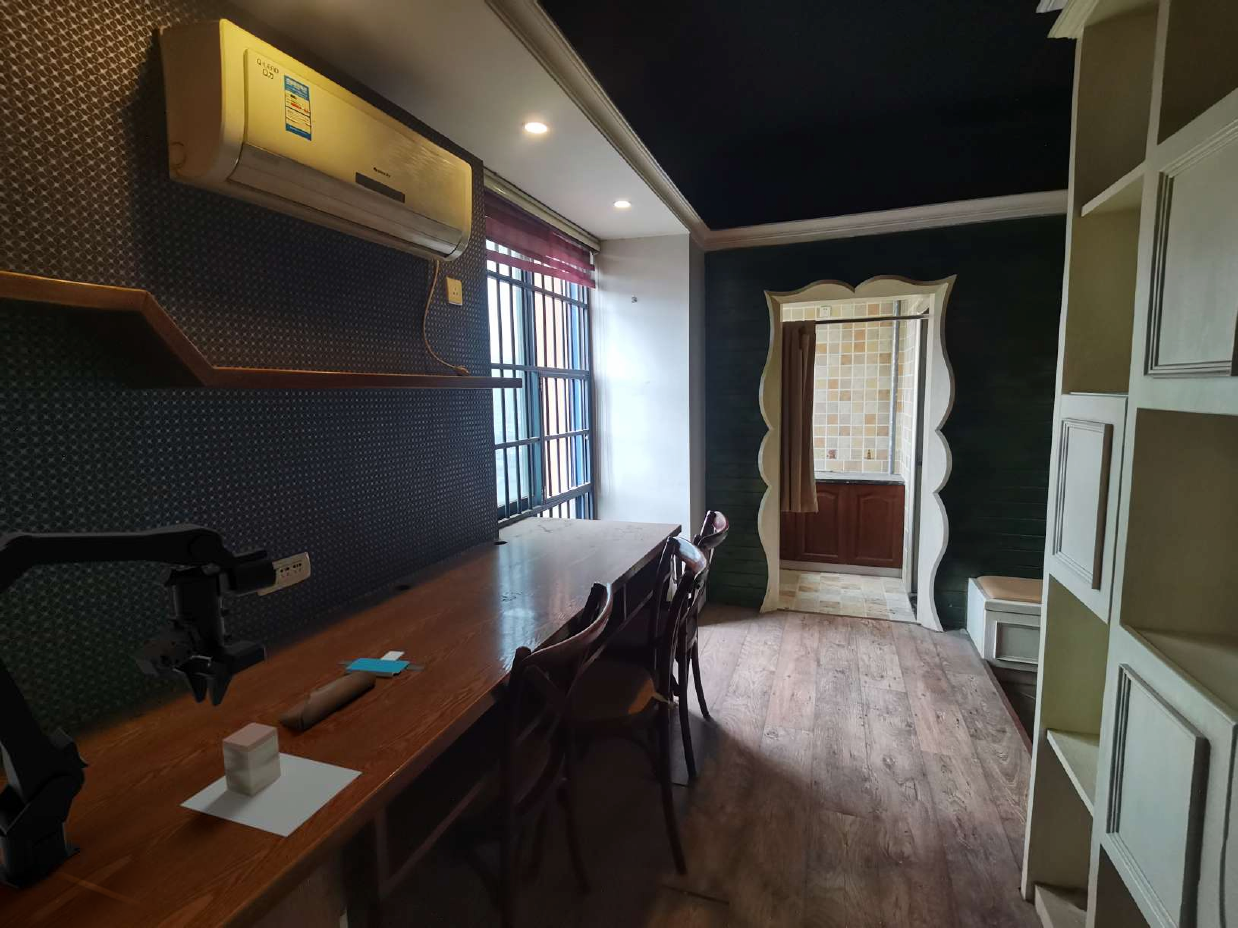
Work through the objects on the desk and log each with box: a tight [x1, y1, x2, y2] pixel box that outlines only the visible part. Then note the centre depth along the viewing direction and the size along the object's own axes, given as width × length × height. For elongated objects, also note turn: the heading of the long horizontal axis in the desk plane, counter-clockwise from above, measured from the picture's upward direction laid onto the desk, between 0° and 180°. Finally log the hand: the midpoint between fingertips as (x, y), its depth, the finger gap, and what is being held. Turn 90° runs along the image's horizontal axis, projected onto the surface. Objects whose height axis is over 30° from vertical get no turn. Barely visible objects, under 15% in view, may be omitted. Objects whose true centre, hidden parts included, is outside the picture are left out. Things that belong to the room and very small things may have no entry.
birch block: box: [221, 721, 281, 797], centre depth 89 cm, size 5×5×8 cm
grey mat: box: [179, 752, 363, 838], centre depth 88 cm, size 20×14×1 cm
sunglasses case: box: [275, 670, 377, 732], centre depth 112 cm, size 18×7×7 cm
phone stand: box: [337, 650, 426, 678], centre depth 129 cm, size 20×12×2 cm, turn 81°
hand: (208, 703), depth 91 cm, fingers open, 3 cm apart
